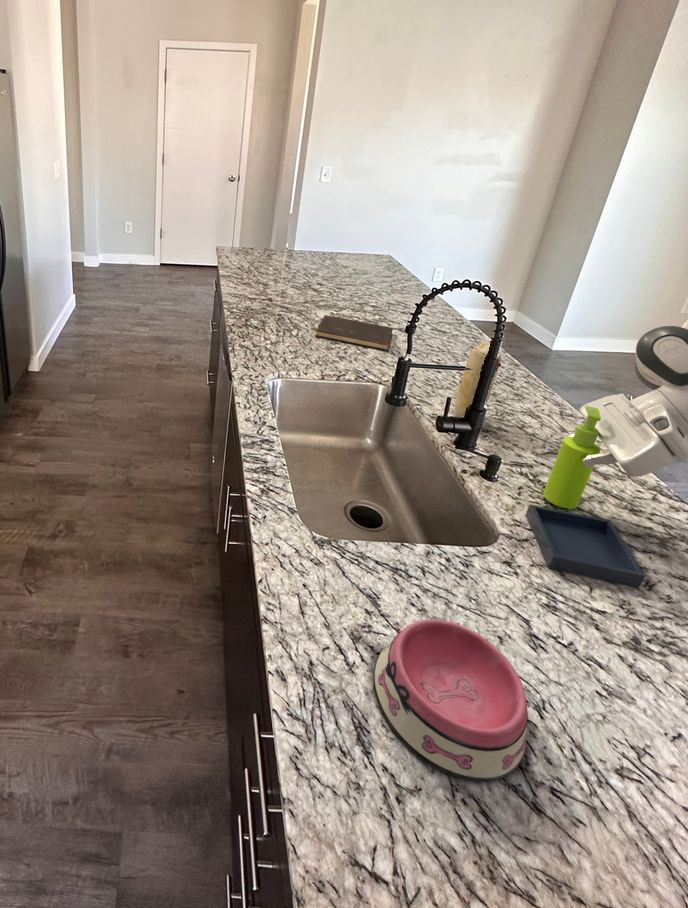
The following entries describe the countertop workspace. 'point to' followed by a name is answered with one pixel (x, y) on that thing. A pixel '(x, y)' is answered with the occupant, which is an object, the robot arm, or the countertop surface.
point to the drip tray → (583, 546)
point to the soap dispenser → (573, 464)
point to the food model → (472, 379)
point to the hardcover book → (354, 332)
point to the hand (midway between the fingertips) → (576, 451)
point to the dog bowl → (453, 700)
